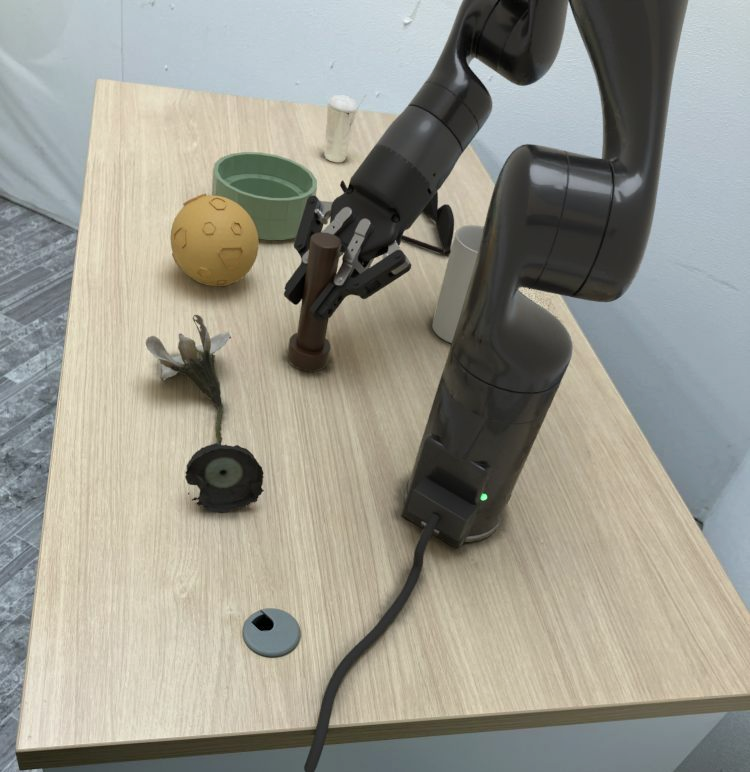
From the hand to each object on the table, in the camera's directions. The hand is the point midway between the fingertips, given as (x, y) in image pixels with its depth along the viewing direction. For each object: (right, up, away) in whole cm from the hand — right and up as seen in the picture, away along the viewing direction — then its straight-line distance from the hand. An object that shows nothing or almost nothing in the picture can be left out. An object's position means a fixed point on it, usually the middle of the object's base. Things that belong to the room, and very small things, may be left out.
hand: (302, 308), depth 81 cm
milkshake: (+1, +34, +45) cm, 56 cm away
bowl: (-8, +18, +27) cm, 33 cm away
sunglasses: (+10, +20, +33) cm, 39 cm away
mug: (+17, +2, +18) cm, 25 cm away
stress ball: (-12, +7, +14) cm, 20 cm away
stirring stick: (0, -4, +6) cm, 7 cm away
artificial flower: (-9, -12, -4) cm, 16 cm away
